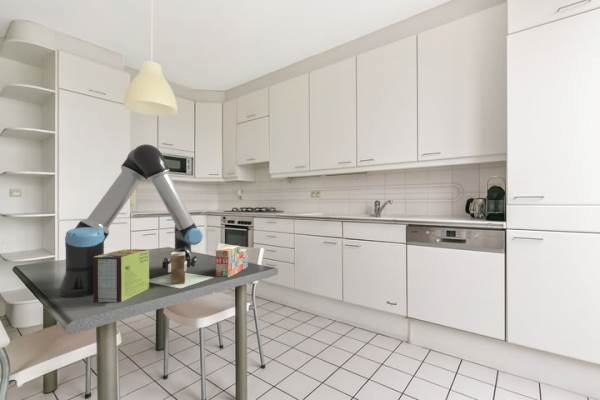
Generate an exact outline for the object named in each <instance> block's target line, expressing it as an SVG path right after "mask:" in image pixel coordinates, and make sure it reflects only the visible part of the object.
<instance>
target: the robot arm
mask: <svg viewBox="0 0 600 400" xmlns="http://www.w3.org/2000/svg"><path fill="white" fill-rule="evenodd" d="M120 169H121V173H120V174H119V175H118V176H117V177H116V179H115V180H114V181H113V183H112V184H111V186H110V187H109V188H108V190H107V191H106V192H105V194H104V195H103V197H102V198H101V199H100V201H99V202H98V203H97V205H96V206H95V207H94V209H93V210H92V211H91V213H90V214H89V216H88V217H87V218H85V219H81V220H80V221H79V222H78V224H76V226H75V228H72V229H69V230H68V231H66V233H65V236H64V241H65V242H64V243H65V245H64V246H65V273H64V276H63V280H62V282H61V285H60V287H59V296H60V297H63V298H79V297H85V296H87V297H88V296H92V295H93V257H95V256H99V255H103V254H105V241H106V239H107V238H108V237H109V235H110V231H109V230H110V229H109V228H110V226H111V225H112V224H113V222H114V220H115V219H116V218H117V217H118V215H119V214H120V213H121V211H122V209H123V208H124V206H125V205H127V204H126V203H128V201H129V199H130V198H131V196H132V195H133V193H134V192H135V191H136V189H137V188H138V186H139V185H140V184H141V183H142V182H147V180H150V181H151V182H152V184H153V186H154V187H155V190H156V192H157V193H158V196H159V197H160V199H161V200H162V202H163V204H164V206H165V207H166V210H167V212H168V214H169V215H170V218H171V219H172V221H173V223H174V252H185V263H184V271H185V272H187V269H188V268H190V267H195V266H196V263H197V256H196V255H194V256H192V246H195V245H198V244H200V243H201V242H202V241H203V238H204V237H203V236H204V235H203V232H202V231H201V230H200V229H199V228H198V227H197V225H196V224H195V222H194V220H193V218H192V216H191V214H190V212H189V210H188V208H187V207H186V206H187V205H186V204H185V202H184V200H183V198H182V196H181V195H180V192H179V190H178V189H177V187H176V185H175V182H174V181H173V179H172V177H171V175H170V167H169V165H168V164H167V161H166V158H164V155H163V154H162V152H161V151H160V149H158V148H157V147H156V146H154V145H152V144H151V145H150V144H141V145H138V146H136V147H135V148H134V149H132V150H131V151H130V152H129V153H128V155H127V157H126V159H125V160H124V162H123V163H122V164H121V166H120ZM161 267H162V269H166V270H167V273H171V257H170V258H169V257H164V258H163V261H162V266H161Z"/></svg>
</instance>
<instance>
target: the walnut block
mask: <svg viewBox="0 0 600 400" xmlns="http://www.w3.org/2000/svg"><path fill="white" fill-rule="evenodd" d="M170 258H171V272H170V274H171V285H172V284H185V273H186V271H184V263H185V252H175V251H172V252H171V253H170Z"/></svg>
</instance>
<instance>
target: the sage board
mask: <svg viewBox="0 0 600 400" xmlns="http://www.w3.org/2000/svg"><path fill="white" fill-rule="evenodd" d="M214 278H215V277H214V276H209V275H202V274H196V273H187V272H185V284H172V285H171V273H169V274H164V275H161V276H158V277H153V278H149V284H150V283H151V284H156V285H161V286H165V287H171V288H176V289H183V288H186V287H188V286H192V285H195V284H198V283H201V282H203V281H208V280H211V279H214Z"/></svg>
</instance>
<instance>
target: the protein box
mask: <svg viewBox="0 0 600 400" xmlns="http://www.w3.org/2000/svg"><path fill="white" fill-rule="evenodd" d="M149 279H150V250H149V249H145V248H144V249H142V248H141V249H137V248H135V249H134V248H133V249H131V248H129V249H128V248H125V249H120V250H115V251H111V252H107V253H104V254H103V255H99V256H95V257H93V294H92V295H93V301H92V302H93V303H98V304H99V303H101V304H107V303H110V302H114V303H116V302H117V303H118V302H119V303H122V302H124V301H126V300H128V299H130V298H132V297H134V296H136V295H138V294H141V293H142V292H144V291H146V290H149V289H150V283H149Z"/></svg>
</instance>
